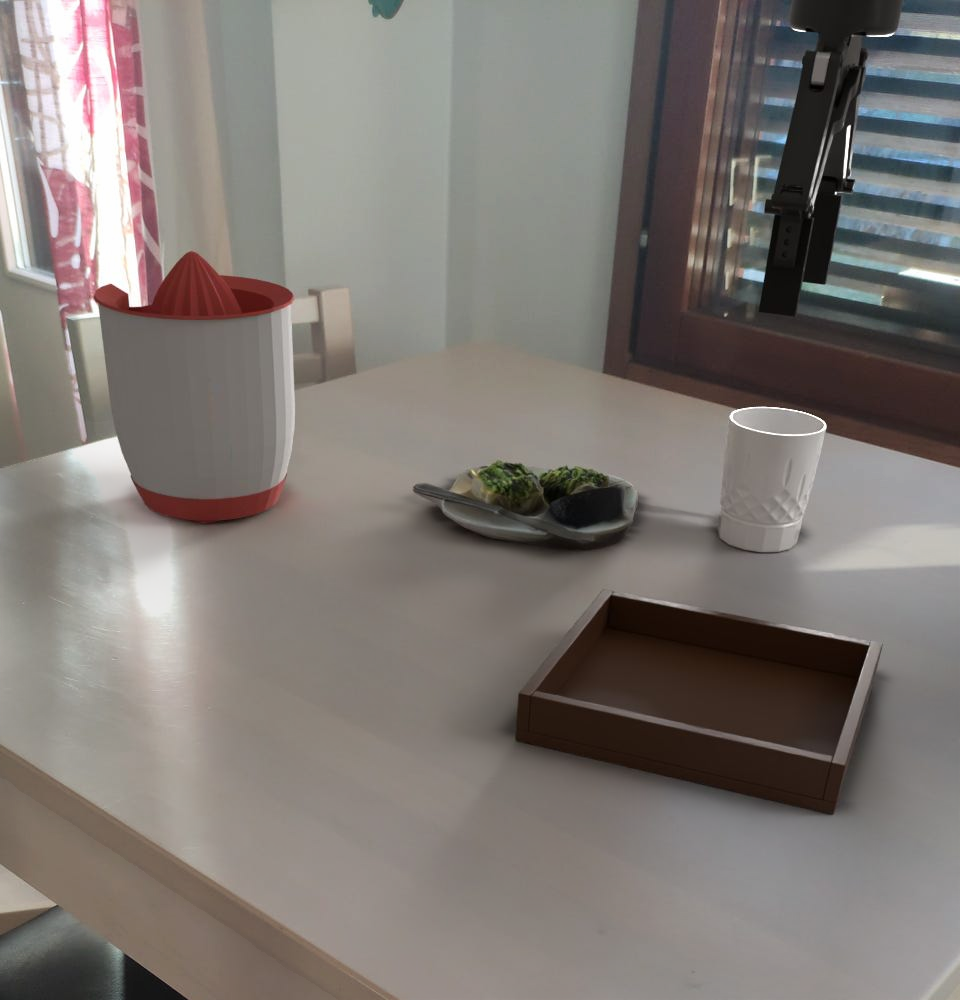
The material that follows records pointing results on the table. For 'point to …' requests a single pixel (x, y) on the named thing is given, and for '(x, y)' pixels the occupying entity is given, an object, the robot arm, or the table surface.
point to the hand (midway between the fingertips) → (794, 297)
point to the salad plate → (539, 504)
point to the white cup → (768, 476)
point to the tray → (704, 698)
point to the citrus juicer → (202, 391)
